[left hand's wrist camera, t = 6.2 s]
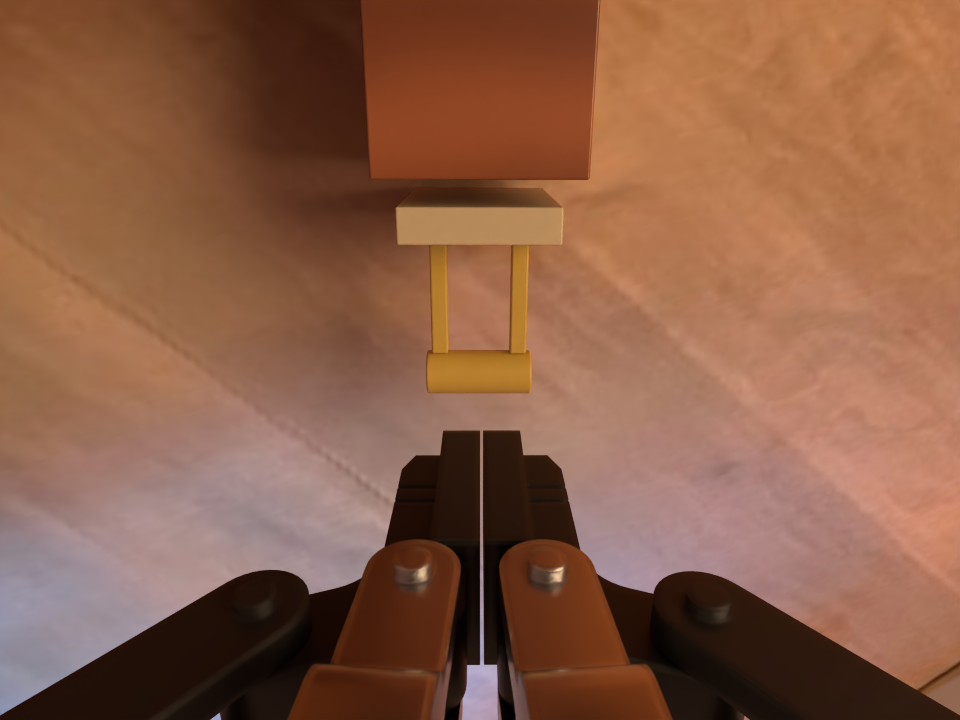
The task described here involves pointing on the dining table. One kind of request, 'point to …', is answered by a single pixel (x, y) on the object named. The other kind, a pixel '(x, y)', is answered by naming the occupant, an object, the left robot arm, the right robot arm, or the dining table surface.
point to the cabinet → (479, 88)
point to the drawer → (479, 222)
